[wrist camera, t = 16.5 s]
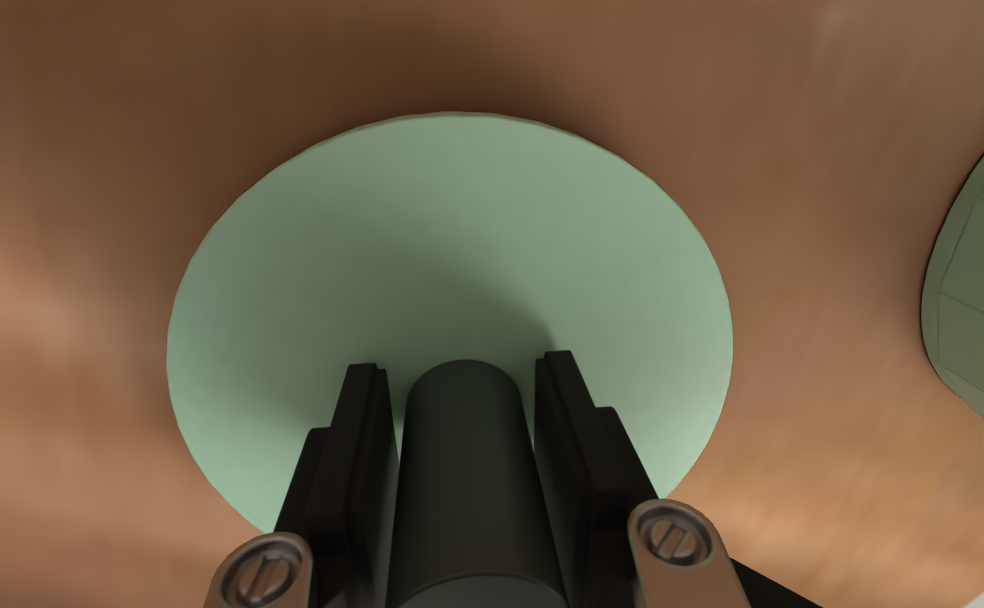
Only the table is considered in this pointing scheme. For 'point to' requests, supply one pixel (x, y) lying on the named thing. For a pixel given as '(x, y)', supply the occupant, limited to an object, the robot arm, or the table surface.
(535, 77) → the table surface
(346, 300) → the cover
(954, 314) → the pot
